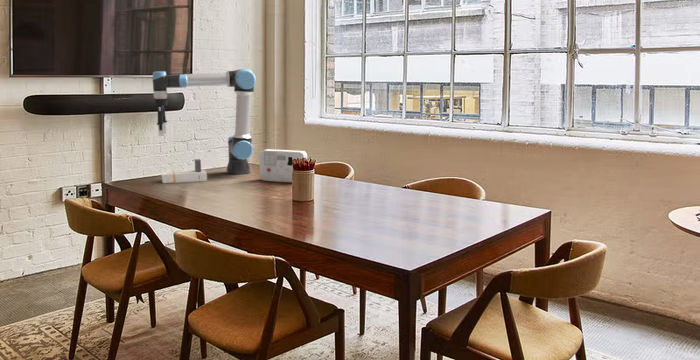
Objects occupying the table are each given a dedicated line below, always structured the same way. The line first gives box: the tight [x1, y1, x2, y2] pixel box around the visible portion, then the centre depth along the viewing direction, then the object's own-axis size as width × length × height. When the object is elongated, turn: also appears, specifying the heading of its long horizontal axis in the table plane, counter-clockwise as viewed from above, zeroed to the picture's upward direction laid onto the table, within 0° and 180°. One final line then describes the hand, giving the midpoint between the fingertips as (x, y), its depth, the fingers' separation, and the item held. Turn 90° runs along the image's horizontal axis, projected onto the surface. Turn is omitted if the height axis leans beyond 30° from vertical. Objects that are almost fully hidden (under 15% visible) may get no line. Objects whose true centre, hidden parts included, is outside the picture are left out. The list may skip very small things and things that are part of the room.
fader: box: [194, 158, 202, 172], centre depth 392 cm, size 3×5×11 cm, turn 18°
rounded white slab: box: [258, 148, 308, 183], centre depth 387 cm, size 29×8×18 cm, turn 70°
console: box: [161, 169, 208, 184], centre depth 391 cm, size 25×11×5 cm, turn 108°
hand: (162, 134), depth 389 cm, fingers open, 13 cm apart
